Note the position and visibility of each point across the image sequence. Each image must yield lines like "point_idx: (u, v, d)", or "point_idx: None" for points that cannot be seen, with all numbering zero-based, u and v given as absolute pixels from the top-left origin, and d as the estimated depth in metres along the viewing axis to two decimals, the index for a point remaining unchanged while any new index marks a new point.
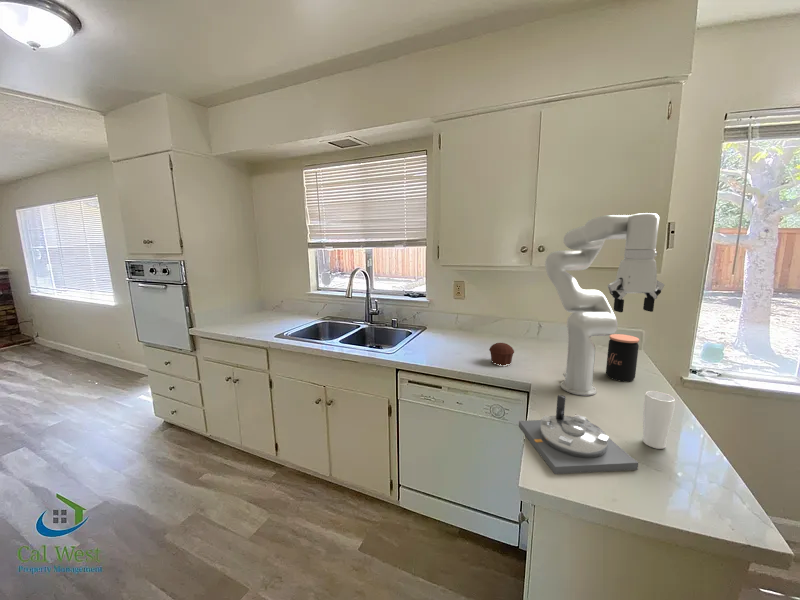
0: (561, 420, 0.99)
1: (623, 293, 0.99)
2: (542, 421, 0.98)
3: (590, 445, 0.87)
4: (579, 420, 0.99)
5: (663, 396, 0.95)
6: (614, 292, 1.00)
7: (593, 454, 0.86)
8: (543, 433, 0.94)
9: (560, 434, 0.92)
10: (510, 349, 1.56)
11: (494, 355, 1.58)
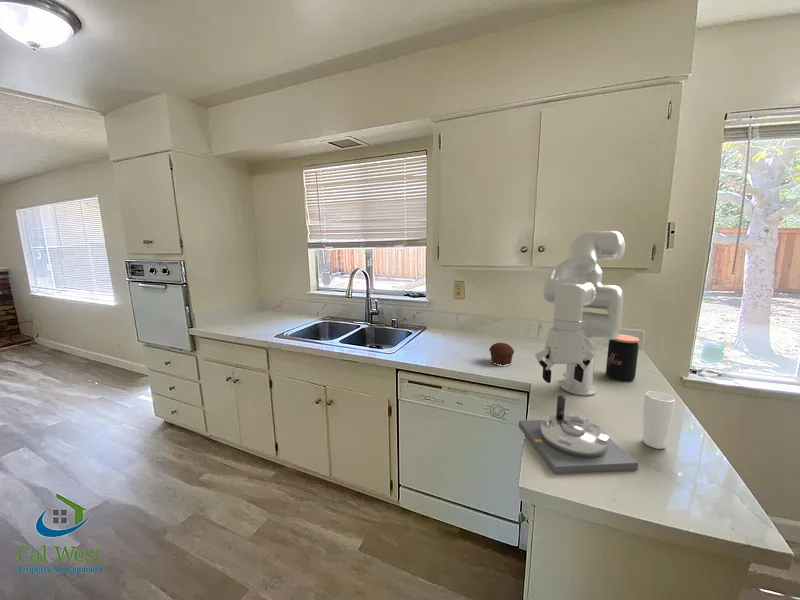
0: (561, 420, 0.99)
1: (550, 364, 0.96)
2: (542, 421, 0.98)
3: (590, 445, 0.87)
4: (579, 420, 0.99)
5: (663, 396, 0.95)
6: (541, 362, 0.96)
7: (593, 454, 0.86)
8: (543, 433, 0.94)
9: (560, 434, 0.92)
10: (510, 349, 1.56)
11: (494, 355, 1.58)
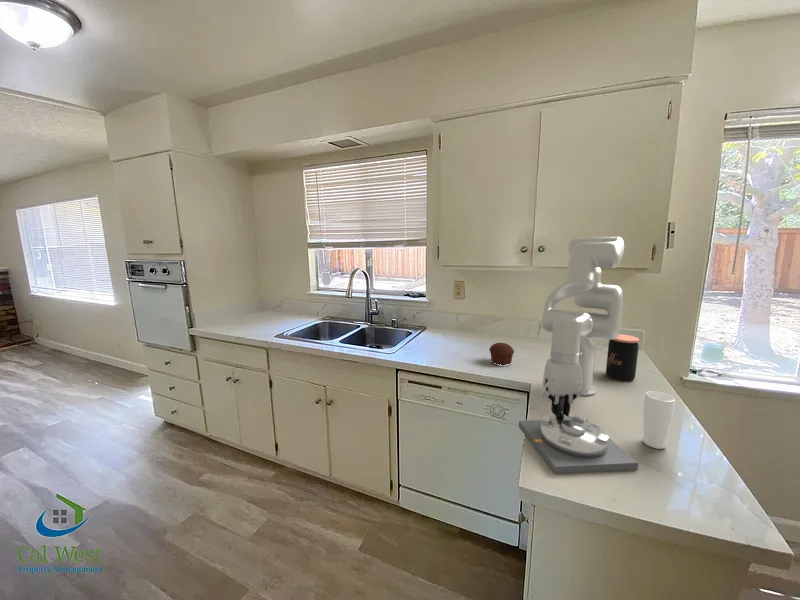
0: (561, 420, 0.99)
1: (556, 398, 0.98)
2: (542, 421, 0.98)
3: (590, 445, 0.87)
4: (579, 420, 0.99)
5: (663, 396, 0.95)
6: (550, 397, 0.99)
7: (593, 454, 0.86)
8: (543, 433, 0.94)
9: (560, 434, 0.92)
10: (510, 349, 1.56)
11: (494, 355, 1.58)
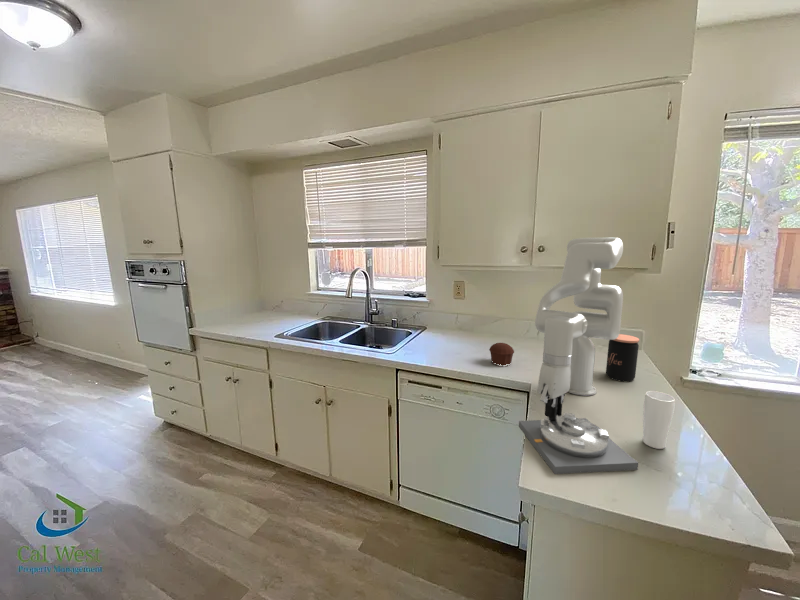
0: (555, 421, 0.99)
1: (553, 401, 0.96)
2: (543, 426, 0.95)
3: (597, 443, 0.88)
4: (570, 418, 1.00)
5: (663, 396, 0.95)
6: (549, 401, 0.96)
7: (603, 451, 0.87)
8: (550, 439, 0.91)
9: (566, 437, 0.91)
10: (510, 349, 1.56)
11: (494, 355, 1.58)
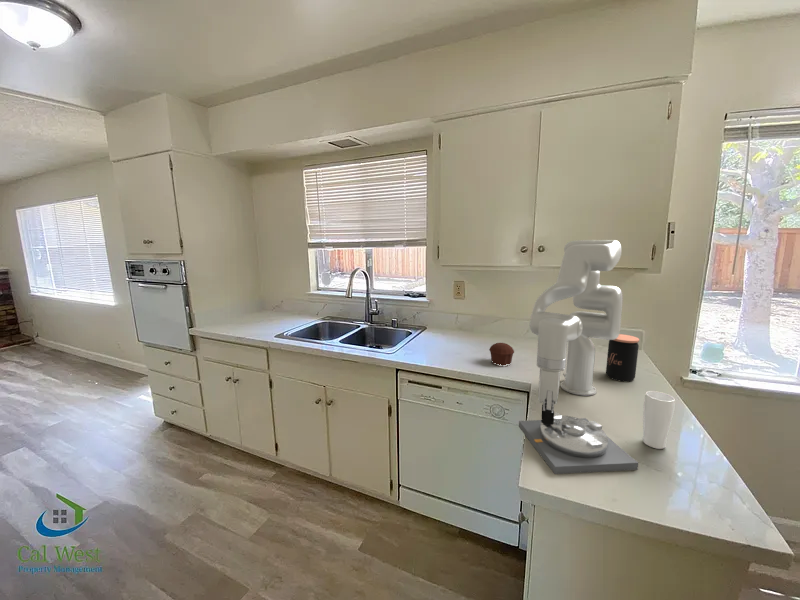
0: (551, 425, 0.97)
1: (553, 406, 0.94)
2: (552, 436, 0.91)
3: (601, 436, 0.91)
4: (557, 417, 1.00)
5: (663, 396, 0.95)
6: (551, 408, 0.92)
7: None
8: (568, 448, 0.87)
9: (578, 440, 0.89)
10: (510, 349, 1.56)
11: (494, 355, 1.58)
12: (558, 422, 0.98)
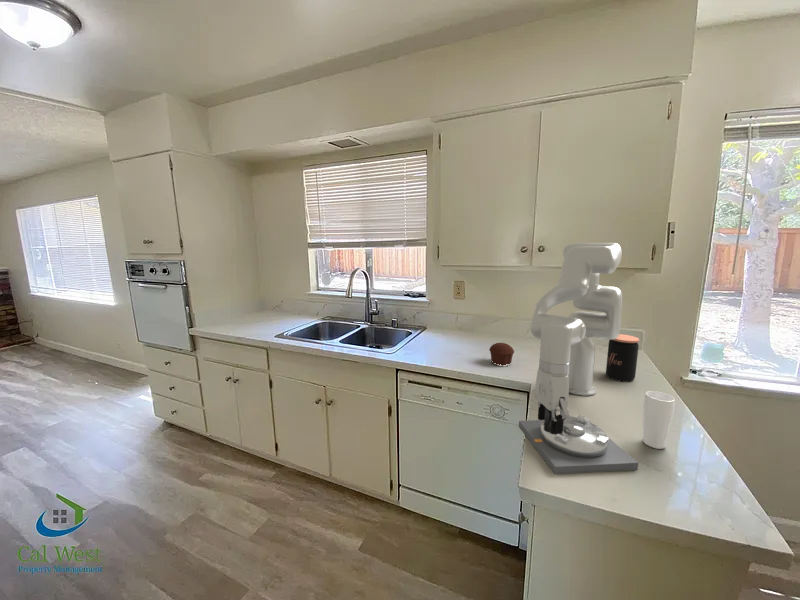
0: None
1: None
2: (566, 442, 0.88)
3: (597, 430, 0.94)
4: None
5: (663, 396, 0.95)
6: None
7: None
8: (585, 451, 0.86)
9: (586, 440, 0.89)
10: (510, 349, 1.56)
11: (494, 355, 1.58)
12: None
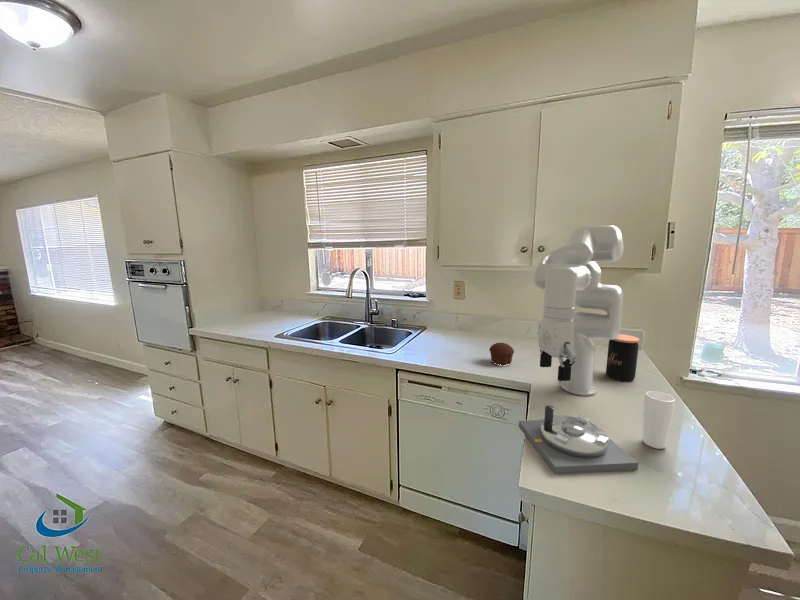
0: (553, 430, 0.94)
1: None
2: (566, 442, 0.88)
3: (597, 430, 0.94)
4: None
5: (663, 396, 0.95)
6: None
7: None
8: (585, 451, 0.86)
9: (586, 440, 0.89)
10: (510, 349, 1.56)
11: (494, 355, 1.58)
12: (554, 425, 0.97)
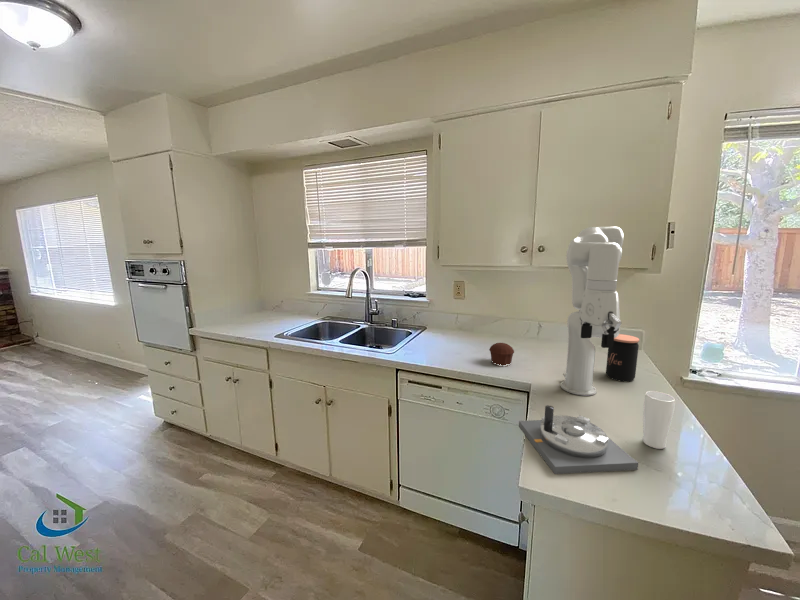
0: (553, 430, 0.94)
1: None
2: (566, 442, 0.88)
3: (597, 430, 0.94)
4: None
5: (663, 396, 0.95)
6: None
7: None
8: (585, 451, 0.86)
9: (586, 440, 0.89)
10: (510, 349, 1.56)
11: (494, 355, 1.58)
12: (554, 425, 0.97)
